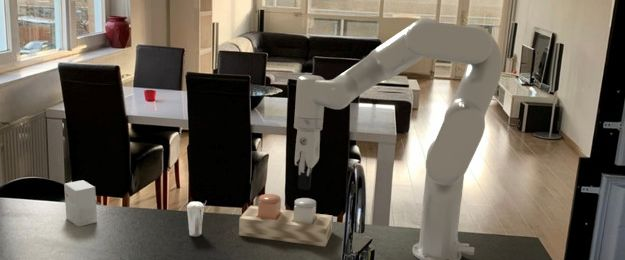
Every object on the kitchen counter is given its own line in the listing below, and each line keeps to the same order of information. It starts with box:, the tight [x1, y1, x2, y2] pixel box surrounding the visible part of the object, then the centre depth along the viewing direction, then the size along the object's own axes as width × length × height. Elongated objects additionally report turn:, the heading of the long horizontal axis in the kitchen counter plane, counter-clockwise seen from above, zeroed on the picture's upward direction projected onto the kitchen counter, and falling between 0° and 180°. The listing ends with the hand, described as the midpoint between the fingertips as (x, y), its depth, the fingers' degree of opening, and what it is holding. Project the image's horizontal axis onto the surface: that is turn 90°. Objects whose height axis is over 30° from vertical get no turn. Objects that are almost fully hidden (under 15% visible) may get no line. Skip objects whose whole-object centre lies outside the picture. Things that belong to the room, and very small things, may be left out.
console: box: [238, 205, 334, 248], centre depth 169 cm, size 24×10×5 cm, turn 78°
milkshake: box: [186, 201, 207, 237], centre depth 165 cm, size 4×5×10 cm
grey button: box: [293, 197, 317, 224], centre depth 167 cm, size 6×6×6 cm
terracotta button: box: [257, 193, 282, 220], centre depth 169 cm, size 6×6×6 cm
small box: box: [63, 179, 98, 227], centre depth 171 cm, size 8×6×10 cm
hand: (304, 188), depth 166 cm, fingers closed
